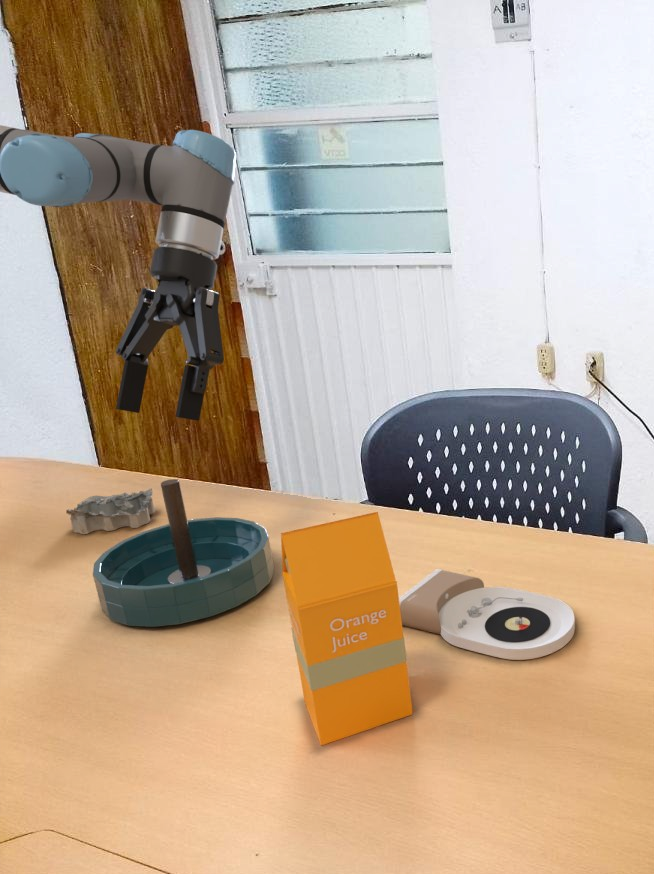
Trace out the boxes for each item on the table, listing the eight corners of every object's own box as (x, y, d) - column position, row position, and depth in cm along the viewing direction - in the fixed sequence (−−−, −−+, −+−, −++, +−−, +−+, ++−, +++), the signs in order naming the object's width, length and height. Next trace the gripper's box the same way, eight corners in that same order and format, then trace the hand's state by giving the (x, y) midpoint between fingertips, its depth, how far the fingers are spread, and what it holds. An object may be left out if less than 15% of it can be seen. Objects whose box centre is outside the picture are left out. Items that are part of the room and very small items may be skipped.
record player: (444, 562, 103) (591, 593, 95) (446, 584, 104) (591, 617, 96) (386, 607, 93) (544, 646, 85) (388, 631, 94) (545, 671, 86)
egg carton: (67, 537, 120) (60, 511, 119) (85, 516, 127) (79, 492, 126) (147, 528, 123) (141, 502, 121) (160, 508, 130) (154, 484, 128)
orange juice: (413, 714, 80) (391, 526, 73) (320, 746, 76) (287, 550, 69) (390, 673, 86) (367, 497, 80) (303, 701, 82) (271, 518, 76)
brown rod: (169, 581, 106) (146, 479, 101) (211, 571, 108) (191, 471, 103) (170, 598, 101) (146, 492, 97) (214, 588, 104) (193, 484, 99)
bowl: (105, 575, 109) (96, 538, 107) (264, 542, 117) (257, 506, 115) (100, 648, 92) (89, 605, 90) (284, 603, 101) (277, 562, 99)
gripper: (272, 261, 104) (242, 427, 103) (160, 265, 117) (132, 412, 116) (218, 240, 98) (185, 417, 96) (106, 247, 111) (75, 403, 109)
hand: (156, 415), depth 106 cm, fingers open, 13 cm apart
